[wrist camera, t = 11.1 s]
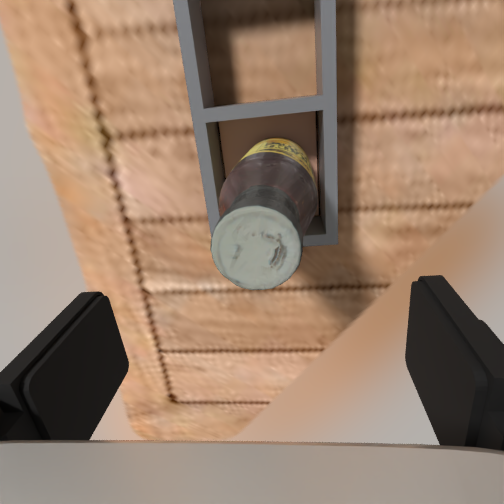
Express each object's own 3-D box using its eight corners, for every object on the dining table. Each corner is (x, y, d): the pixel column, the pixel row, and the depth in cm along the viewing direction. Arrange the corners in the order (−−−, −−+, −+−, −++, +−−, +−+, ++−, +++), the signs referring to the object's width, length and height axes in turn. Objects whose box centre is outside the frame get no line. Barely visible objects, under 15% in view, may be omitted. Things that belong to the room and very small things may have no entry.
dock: (325, -69, 26) (334, -103, 22) (330, 224, 36) (338, 244, 31) (181, -46, 28) (161, -72, 23) (222, 232, 37) (213, 252, 32)
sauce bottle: (323, 170, 33) (372, 265, 15) (274, 214, 35) (265, 343, 17) (275, 116, 32) (264, 149, 14) (227, 166, 34) (161, 252, 16)
